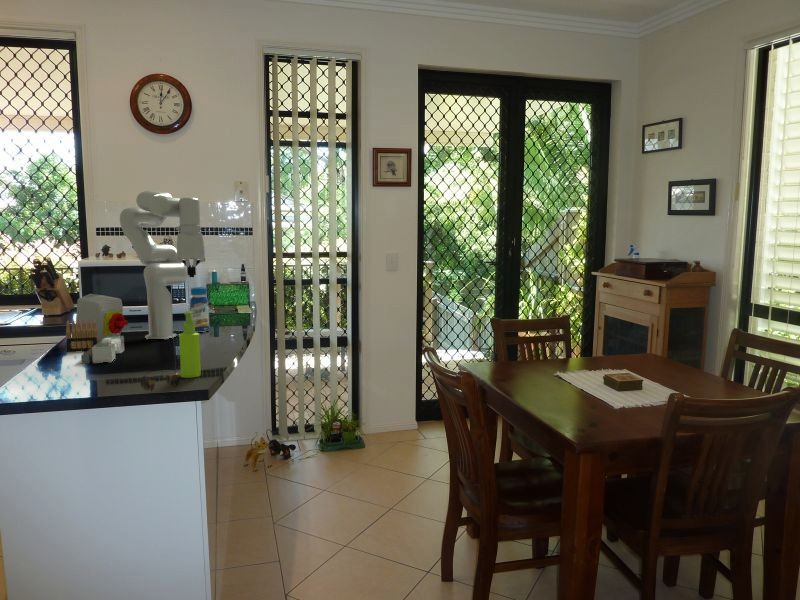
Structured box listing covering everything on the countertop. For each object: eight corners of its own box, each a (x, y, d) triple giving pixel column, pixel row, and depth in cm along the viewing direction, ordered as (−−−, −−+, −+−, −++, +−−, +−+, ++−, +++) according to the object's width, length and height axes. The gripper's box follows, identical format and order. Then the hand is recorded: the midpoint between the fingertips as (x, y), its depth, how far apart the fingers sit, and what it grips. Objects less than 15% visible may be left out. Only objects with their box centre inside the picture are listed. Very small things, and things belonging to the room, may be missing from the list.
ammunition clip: (66, 352, 231) (64, 320, 230) (67, 351, 233) (65, 319, 232) (97, 350, 234) (96, 319, 233) (98, 349, 236) (97, 318, 235)
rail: (97, 351, 233) (96, 335, 232) (124, 350, 235) (123, 334, 235) (81, 364, 210) (80, 346, 209) (111, 362, 212) (110, 345, 212)
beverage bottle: (213, 330, 283) (211, 286, 281) (205, 333, 274) (203, 288, 272) (195, 330, 284) (193, 286, 282) (187, 333, 275) (185, 288, 273)
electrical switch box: (107, 351, 244) (111, 301, 241) (74, 344, 246) (77, 295, 244) (130, 345, 258) (134, 298, 255) (98, 338, 261) (102, 292, 258)
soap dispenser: (204, 372, 196) (201, 310, 194) (197, 377, 190) (195, 312, 188) (185, 372, 196) (182, 310, 194) (178, 377, 189) (175, 313, 187)
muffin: (112, 354, 227) (111, 335, 226) (120, 356, 223) (119, 337, 222) (95, 356, 222) (94, 337, 222) (102, 359, 218) (101, 339, 218)
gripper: (168, 229, 235) (170, 278, 237) (209, 229, 239) (211, 277, 241) (170, 229, 242) (172, 276, 244) (210, 230, 246) (212, 276, 248)
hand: (191, 277), depth 242 cm, fingers closed
